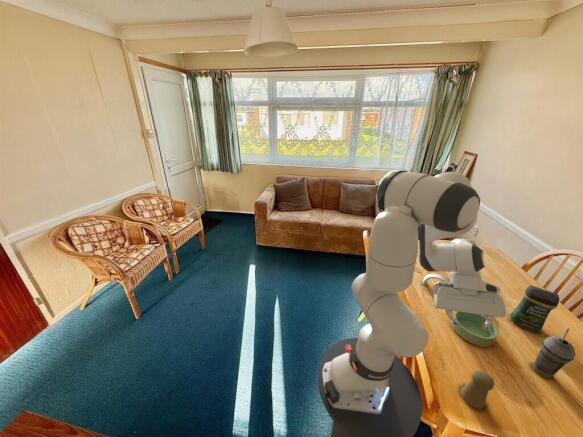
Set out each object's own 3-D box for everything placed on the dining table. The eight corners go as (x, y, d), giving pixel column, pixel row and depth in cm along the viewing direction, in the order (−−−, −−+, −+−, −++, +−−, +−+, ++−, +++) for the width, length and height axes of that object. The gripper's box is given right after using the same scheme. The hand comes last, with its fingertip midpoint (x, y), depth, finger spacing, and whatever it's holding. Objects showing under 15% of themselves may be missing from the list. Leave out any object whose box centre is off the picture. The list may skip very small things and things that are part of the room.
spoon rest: (476, 294, 114) (482, 283, 111) (477, 309, 105) (483, 297, 102) (424, 277, 126) (427, 266, 123) (421, 289, 118) (424, 277, 115)
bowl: (468, 348, 88) (472, 339, 85) (443, 318, 100) (446, 310, 98) (502, 346, 89) (508, 337, 86) (473, 317, 101) (477, 308, 99)
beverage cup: (535, 378, 78) (565, 338, 69) (522, 358, 84) (548, 319, 76) (562, 385, 76) (596, 344, 67) (547, 364, 82) (576, 325, 74)
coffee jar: (509, 323, 98) (528, 290, 90) (509, 312, 104) (527, 280, 96) (541, 336, 92) (564, 302, 85) (539, 324, 98) (560, 291, 90)
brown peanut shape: (456, 393, 73) (468, 371, 69) (467, 383, 76) (478, 362, 71) (477, 412, 69) (491, 391, 64) (488, 402, 71) (502, 380, 67)
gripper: (436, 280, 80) (438, 323, 76) (506, 288, 75) (512, 334, 71) (430, 281, 86) (431, 321, 82) (494, 289, 81) (499, 331, 77)
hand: (469, 327), depth 76 cm, fingers open, 8 cm apart
